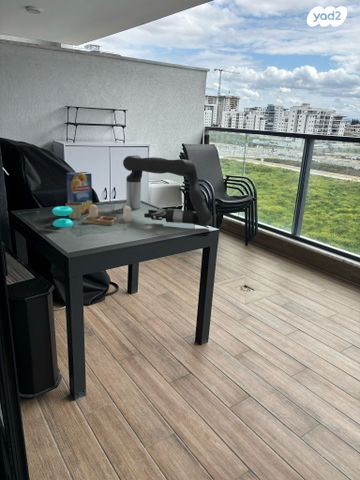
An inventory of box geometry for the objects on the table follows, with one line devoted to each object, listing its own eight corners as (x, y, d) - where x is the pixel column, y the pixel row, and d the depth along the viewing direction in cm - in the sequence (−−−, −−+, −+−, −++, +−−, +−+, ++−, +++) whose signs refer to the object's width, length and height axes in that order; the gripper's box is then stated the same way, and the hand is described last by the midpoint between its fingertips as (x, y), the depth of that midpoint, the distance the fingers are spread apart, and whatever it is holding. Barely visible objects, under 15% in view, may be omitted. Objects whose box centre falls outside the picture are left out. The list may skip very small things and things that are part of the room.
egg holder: (89, 220, 208) (89, 214, 207) (117, 222, 205) (117, 217, 204) (82, 224, 200) (82, 218, 199) (112, 227, 197) (111, 221, 196)
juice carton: (74, 216, 214) (72, 174, 207) (68, 213, 220) (66, 172, 212) (92, 213, 222) (91, 173, 215) (86, 210, 227) (85, 171, 220)
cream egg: (124, 220, 210) (124, 204, 207) (132, 221, 209) (132, 205, 206) (122, 222, 206) (122, 206, 203) (130, 223, 205) (130, 207, 202)
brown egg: (91, 219, 205) (90, 203, 202) (99, 220, 205) (98, 204, 202) (87, 221, 201) (87, 205, 198) (95, 222, 200) (95, 205, 197)
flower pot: (75, 215, 215) (74, 201, 213) (87, 218, 211) (86, 203, 208) (62, 219, 208) (61, 203, 205) (74, 221, 203) (74, 206, 200)
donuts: (48, 208, 188) (59, 204, 197) (49, 227, 191) (60, 222, 200) (64, 211, 185) (76, 207, 194) (65, 230, 188) (76, 225, 197)
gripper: (177, 206, 207) (149, 204, 210) (172, 212, 194) (143, 209, 196) (177, 219, 209) (149, 216, 212) (172, 226, 196) (142, 223, 199)
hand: (146, 213), depth 204 cm, fingers open, 8 cm apart
